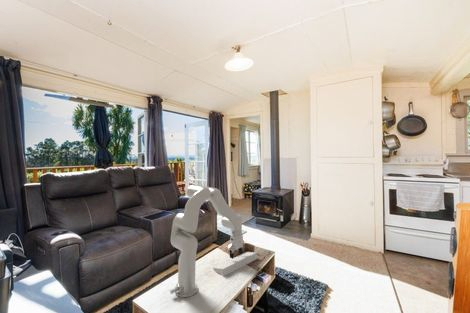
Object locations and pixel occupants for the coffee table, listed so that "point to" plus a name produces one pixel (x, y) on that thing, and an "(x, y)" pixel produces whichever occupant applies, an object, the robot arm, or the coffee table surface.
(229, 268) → the decorative molding
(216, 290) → the coffee table surface
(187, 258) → the robot arm
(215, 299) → the coffee table surface
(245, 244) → the wooden corner bracket
